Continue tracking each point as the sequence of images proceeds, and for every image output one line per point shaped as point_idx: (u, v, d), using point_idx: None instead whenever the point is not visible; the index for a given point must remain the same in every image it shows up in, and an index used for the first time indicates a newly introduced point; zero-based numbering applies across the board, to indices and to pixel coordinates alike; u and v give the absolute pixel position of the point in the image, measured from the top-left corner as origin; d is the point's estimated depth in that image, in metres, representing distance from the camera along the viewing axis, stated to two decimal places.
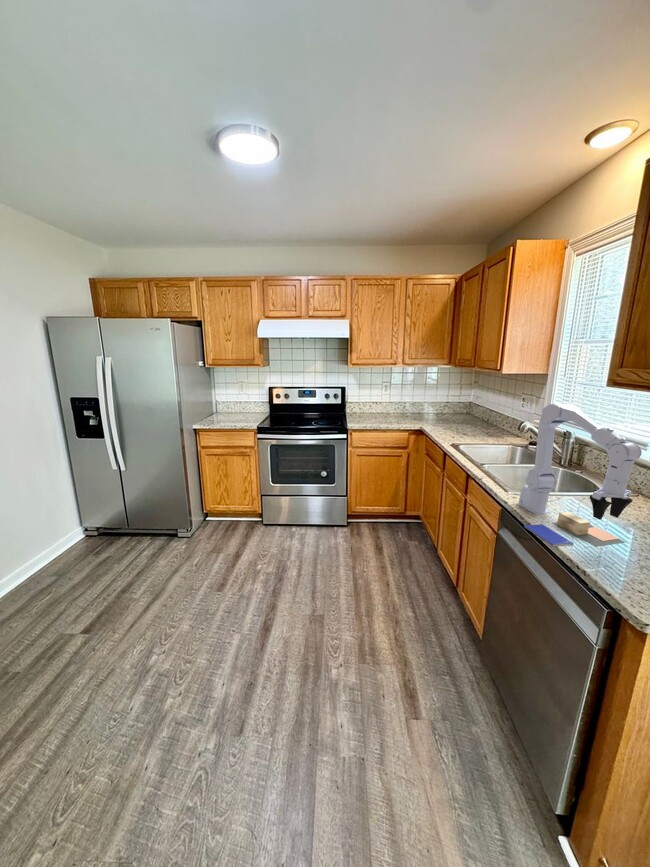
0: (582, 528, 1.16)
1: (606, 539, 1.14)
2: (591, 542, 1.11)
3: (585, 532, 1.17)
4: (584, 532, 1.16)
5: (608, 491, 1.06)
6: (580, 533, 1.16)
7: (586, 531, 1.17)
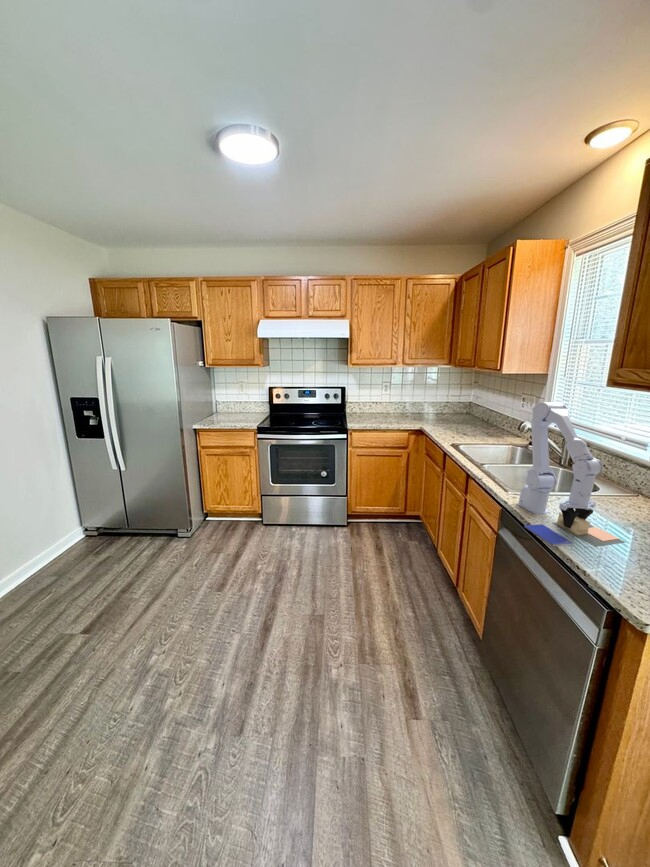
0: (582, 528, 1.16)
1: (606, 539, 1.14)
2: (591, 542, 1.11)
3: (585, 532, 1.17)
4: (584, 532, 1.16)
5: (573, 502, 1.17)
6: (580, 533, 1.16)
7: (586, 531, 1.17)
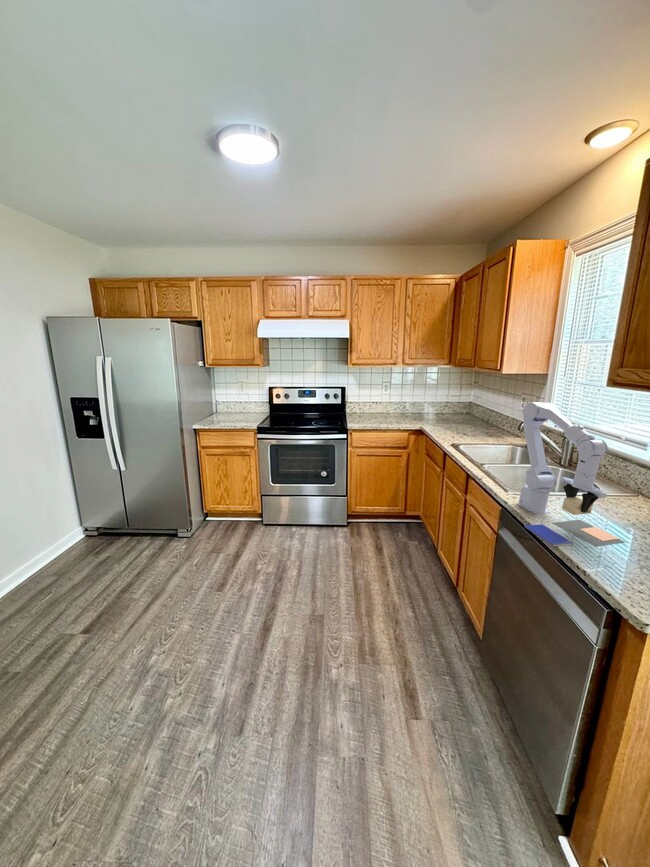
0: (566, 504, 1.18)
1: (606, 539, 1.14)
2: (591, 542, 1.11)
3: (571, 511, 1.16)
4: (569, 511, 1.17)
5: None
6: (564, 509, 1.18)
7: (572, 511, 1.16)
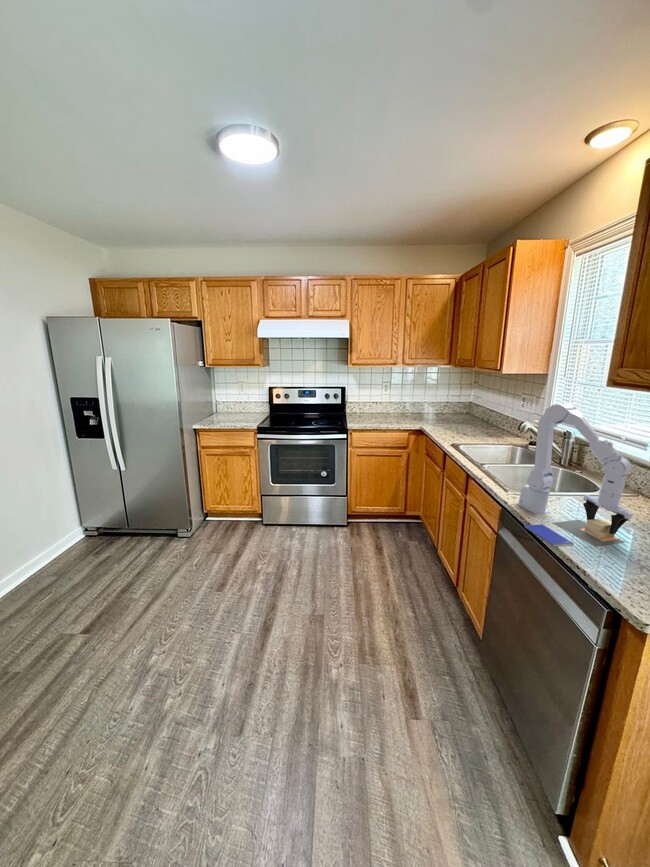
0: (589, 526, 1.16)
1: (606, 539, 1.14)
2: (591, 542, 1.11)
3: (594, 534, 1.15)
4: (593, 534, 1.15)
5: None
6: (587, 531, 1.17)
7: (595, 534, 1.14)
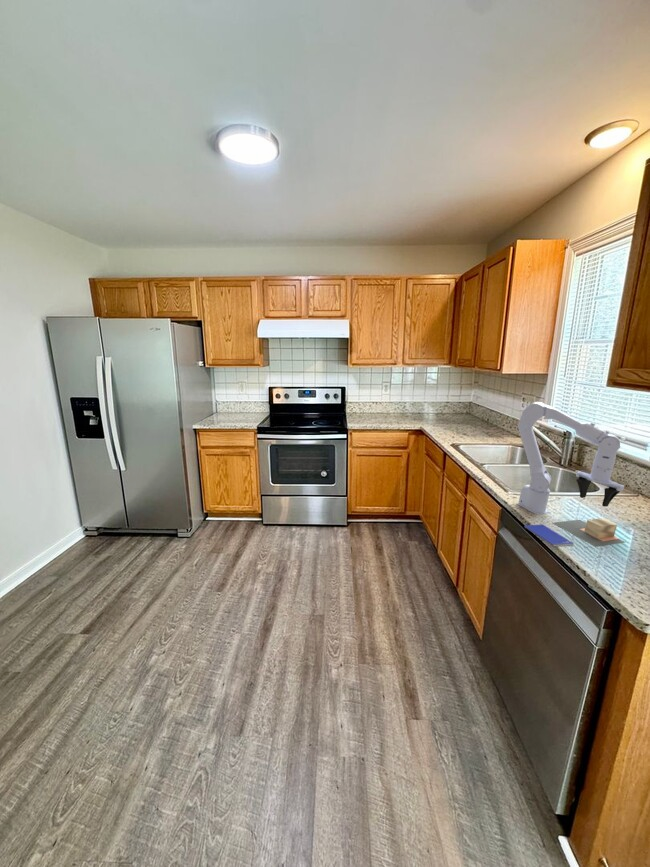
0: (589, 526, 1.16)
1: (606, 539, 1.14)
2: (591, 542, 1.11)
3: (594, 534, 1.15)
4: (593, 534, 1.15)
5: None
6: (587, 531, 1.17)
7: (595, 534, 1.14)
